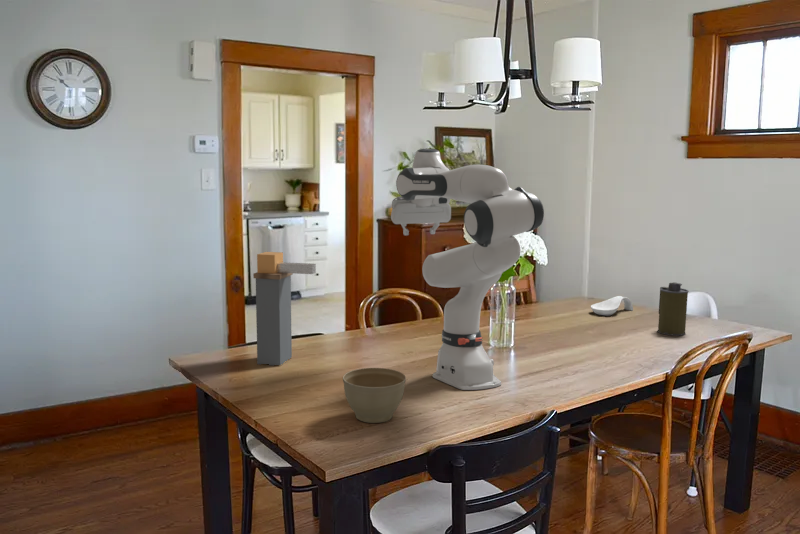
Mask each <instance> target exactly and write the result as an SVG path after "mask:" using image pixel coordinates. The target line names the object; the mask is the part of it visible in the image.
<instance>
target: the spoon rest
mask: <svg viewBox="0 0 800 534" xmlns="http://www.w3.org/2000/svg"><path fill="white" fill-rule="evenodd" d="M622 301H623V302H624V304H623V305H624V306H623V308H624V310H626V311H631V312H633V311H634V307H633V306H634V305H633V303H632V301H631V299H630V298H629V297H627V296H621V295H617V296H614V297H613V296H612V297H611V298H609V299H605V300H603V301H600V302H596V303H593V304H591V305H590V309H591V311H593V313H594V314H596V315H598V316H602V317H603V316H606V317H607V316H608V317H609V316H612V315H613V314H615V313H616V312H617V311H618V309H619V307H620V304H621V302H622Z"/></svg>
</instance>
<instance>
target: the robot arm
mask: <svg viewBox="0 0 800 534" xmlns="http://www.w3.org/2000/svg"><path fill="white" fill-rule="evenodd" d="M413 158H414V159H413V162H412V167H405V168H403V169H402V171H400V173H399V174H398V175H397V177H396V182H395V184H396V185H395V186H396V190H397V192H398V194H399V196H396V197H395V198H393V199H392V201H391V214H390V219H391V221H392V223H393V224H394V225H401V228H402V231H403V232H402V233H403V236H409V235H410V233H409V232H410V230H409V229H408V228H407V225H408V224H409V225H410V224H433V226H432V227H429V233H430V235H435V234H436V230H437V229H438V228H439V227H440V223H449V222H450V221H451V219H452V207H451V204H450V203H451V200H454V201H457V202H463V203H468V204H469V205H467V207H466V208H465V211H464V214H463V223H464V224H463V225H464V228H465V231H466V232H467V234H468V236H469V237H470V238H471V239H472V240H473V241H474V242H472V243H470V244H466V245H462V246H458V247H454V248H451V249H448V250H447V249H446V250H445V251H441V252H436V253H432V254H428V255H427V256H426V258H425V259H424V261H423V263H422V266H421V267H422V269H421V271H422V276H423V279H424V280H425V282H426V283H427V284H428V285H429V286H431V287H436V288H444V289H446V288H447V289H449V288H450V289H451V288H459V291H458V293H457V294H456V295H455V296H454V297H453V298H451V299H449V300H448V301H447V302H446V303H445V306H444V308H443V329H442V330H441V342H442V344H441V346H440V348H439V349H438V353H437V361H436V371H435V372H433V373H432V378H434V379H435V380H438V381H440V382H443V383H445V384H447V385H450V386H452V387H454V388H456V389H459V390H463V391H476V390H477V391H478V390H486V389H493V388H496V387H500V386H501V385H502V381H501V380H500V379H499V378H498V376H496V375H495V374H494V364H495V361H494V359H493V358H490V357H489V355H488V353H487V352H486V350H485V349H484V346H483V341H484V340H483V338H484V337H482V332H481V330H480V321H481V310H482V305H483V302H484V299H485V297H486V295H487V293H488V292H489V290H490V289H491V288H492V286H493V285H495V284H496V283H497V282H498V281H499V280H500V278H501V277H502V274H503V273H504V272H506V271H507V270H509V269H511V268H512V267H513V266H514V265H515V264H516V263H517V262H518V261H519V259H520V256H521V250H522V249H521V244H520V242H519V241H518V239H517V238H516V236H517V235H520V234H523V233H529V232H533V231H534V230H536V229H538V228H539V227H540V226H541V225H542V223H543V221H544V216H545V209H544V205H543V203H542V201H541V200H540V198H539V197H537V196H536V195H535V194H534V193H532V192H529V191H526V190H525V189H524V188H523V187H521V186H517V187H515V189H513V188H511V187H510V185H509V180H508V178H507V175H506V174H505V173H504V172H503V171H502V170H501V169H500V168H497V167H494V166H491V165H487V164H479V163H478V164H469V165H464V166H461V167H457V168H454V169H451V168H449V167H447V166H446V165H445V163H444V162H443V161H442V156H441V152H440V150H438V149H436V148H420V149H417V150H416V151H415V154H414V157H413Z"/></svg>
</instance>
